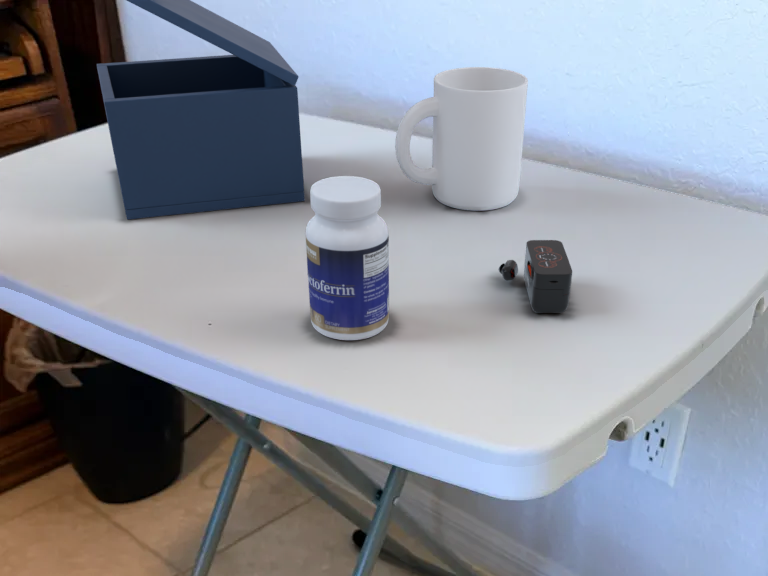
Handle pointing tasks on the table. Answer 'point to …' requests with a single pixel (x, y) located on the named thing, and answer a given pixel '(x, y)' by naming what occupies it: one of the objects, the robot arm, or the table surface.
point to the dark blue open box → (201, 135)
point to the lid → (221, 34)
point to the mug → (470, 137)
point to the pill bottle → (347, 259)
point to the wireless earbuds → (544, 275)
